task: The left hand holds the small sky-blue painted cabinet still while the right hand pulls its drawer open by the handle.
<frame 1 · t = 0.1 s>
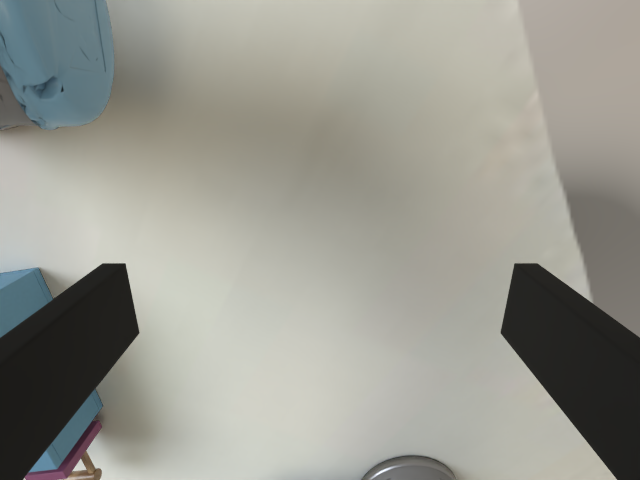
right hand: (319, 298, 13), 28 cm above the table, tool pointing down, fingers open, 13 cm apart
cabinet: (50, 345, 47), on the table
drawer: (44, 409, 44), point 5 cm above the table, slide at 1.5 cm
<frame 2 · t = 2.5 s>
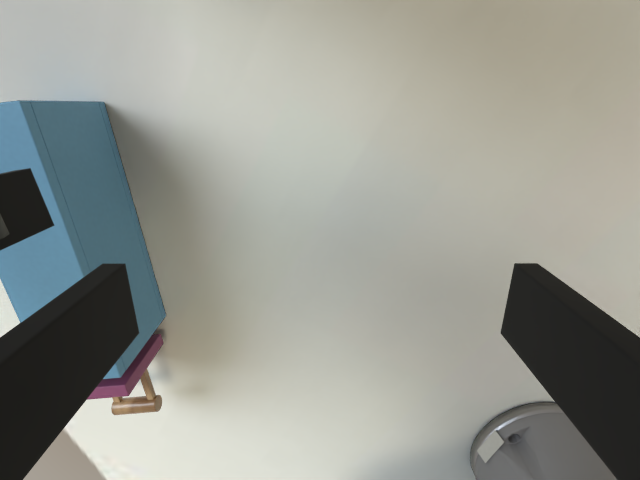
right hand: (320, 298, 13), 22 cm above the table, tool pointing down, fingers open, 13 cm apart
cabinet: (107, 223, 35), on the table
drawer: (99, 302, 32), point 5 cm above the table, slide at 1.5 cm
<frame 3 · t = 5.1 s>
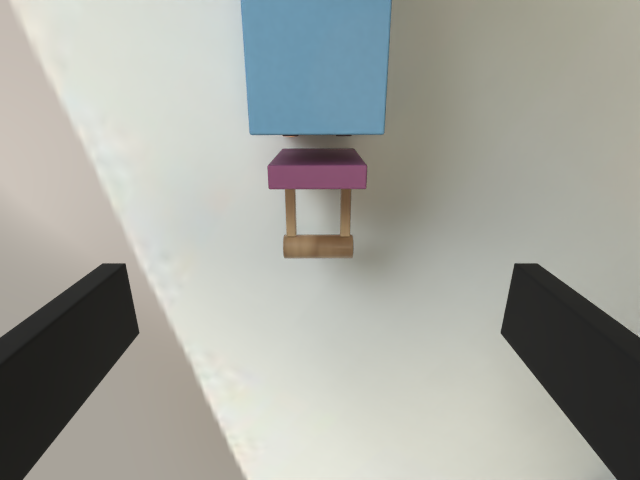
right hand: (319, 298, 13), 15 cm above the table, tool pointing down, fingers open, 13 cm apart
drawer: (317, 38, 19), point 5 cm above the table, slide at 1.5 cm
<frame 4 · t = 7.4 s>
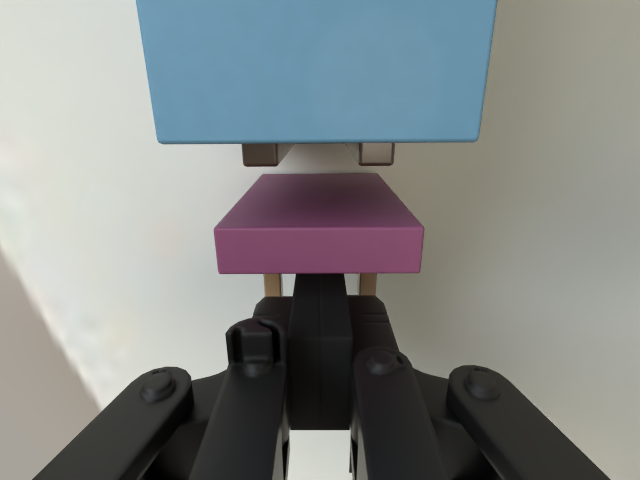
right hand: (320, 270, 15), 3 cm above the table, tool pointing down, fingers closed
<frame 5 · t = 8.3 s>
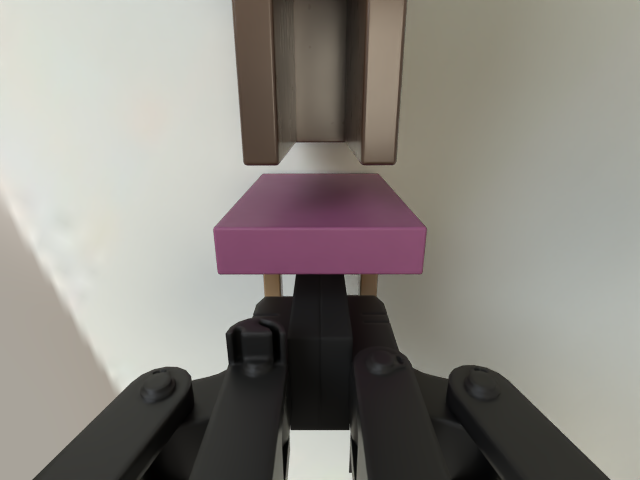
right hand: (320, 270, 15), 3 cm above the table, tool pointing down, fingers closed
when the left hand's fingers open (3 cm above the table, at t = 10.0 s): cabinet stays where it is, on the table.
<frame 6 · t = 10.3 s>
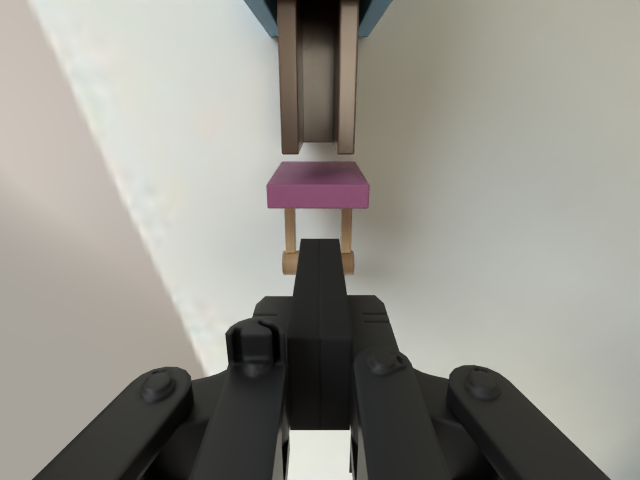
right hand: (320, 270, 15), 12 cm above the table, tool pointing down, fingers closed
drawer: (318, 51, 19), point 5 cm above the table, slide at 7.5 cm
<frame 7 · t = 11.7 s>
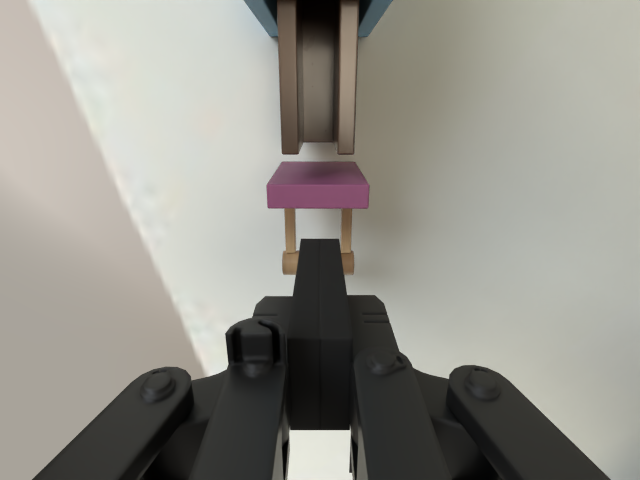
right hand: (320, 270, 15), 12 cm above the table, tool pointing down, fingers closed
drawer: (318, 52, 19), point 5 cm above the table, slide at 7.5 cm
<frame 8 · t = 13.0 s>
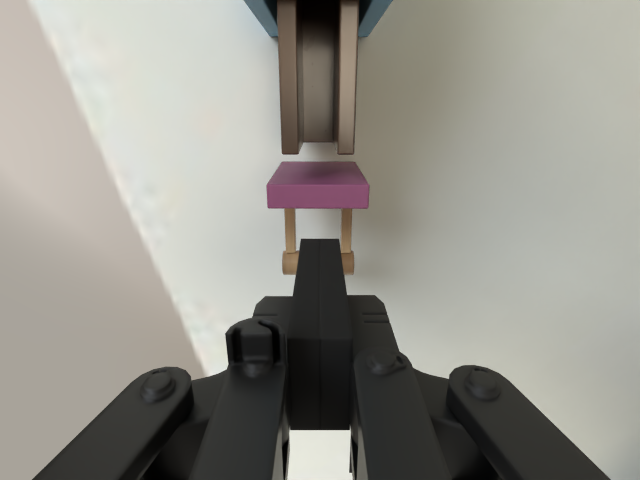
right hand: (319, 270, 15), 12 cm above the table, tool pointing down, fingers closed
drawer: (318, 52, 19), point 5 cm above the table, slide at 7.5 cm
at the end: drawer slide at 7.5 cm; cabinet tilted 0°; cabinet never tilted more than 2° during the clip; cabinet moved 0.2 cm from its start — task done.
